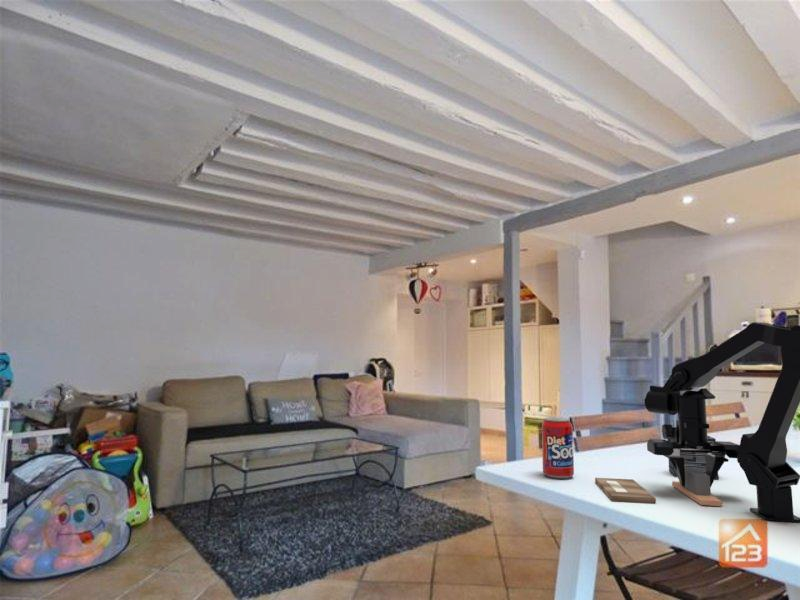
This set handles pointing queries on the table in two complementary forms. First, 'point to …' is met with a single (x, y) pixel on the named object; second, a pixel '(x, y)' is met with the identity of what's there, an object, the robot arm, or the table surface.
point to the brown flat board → (624, 490)
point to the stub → (697, 487)
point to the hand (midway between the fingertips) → (695, 486)
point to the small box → (693, 460)
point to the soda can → (557, 448)
